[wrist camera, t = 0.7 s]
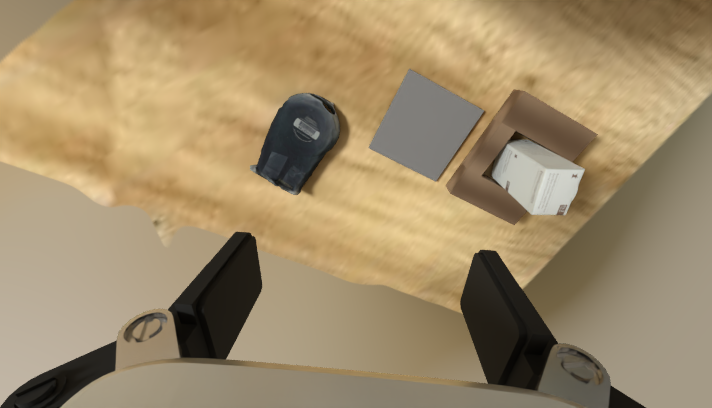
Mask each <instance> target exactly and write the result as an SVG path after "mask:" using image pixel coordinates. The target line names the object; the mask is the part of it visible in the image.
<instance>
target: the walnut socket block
mask: <svg viewBox="0 0 712 408" xmlns="http://www.w3.org/2000/svg"><path fill="white" fill-rule="evenodd" d="M515 131H516V132H518V133H520V134H521V135H523V136H525V137H527V138H529V139H530V140H532V141H534V142H536V143H537V144H539V145H541V146H543V147H545V148H546V149H547V150H549V151H551V152H553V153H555V154H557V155H559V156H561V157H563V158H565V159H567V160H569V161H570V162H573V161H574V160H575V159H576V158H577V156H578V155H579V154H580V153H581V152H582V151H583V150H584V149H585V148H586V147H587V146H588V144H589V143H590V142H591V141H592V140H593V139H594V138H595V137H596V136H597V135H598V134H596V133H594V132H593V131H591V130H589V129H588V128H586V127H584V126H583V125H581V124H579V123H578V122H576V121H574V120H572V119H571V118H569V117H567V116H566V115H564V114H562V113H561V112H559V111H557V110H555V109H554V108H552V107H550V106H549V105H547V104H545V103H544V102H542V101H540V100H539V99H537V98H535V97H533V96H532V95H530V94H528V93H527V92H525V91H520V90H513V92H512V93H511V94H510V96H509V97H508V99H507V100H506V102H505V103H504V104H503V106H502V107H501V109H500V110H499V111H498V113H497V114H496V116H495V117H494V118H493V120H492V121H491V123H490V124H489V125H488V127H487V128H486V130H485V131H484V132H483V134H482V135H481V137H480V138H479V139H478V141H477V142H476V144H475V145H474V147H473V148H472V149H471V151H470V152H469V154H468V155H467V156H466V158H465V159H464V161H463V162H462V163H461V165H460V166H459V168H458V169H457V170H456V172H455V173H454V175H453V176H452V177H451V179H450V180H449V182H448V183H447V184H446V187H447V189H448V190H449V192H450V194H452V195H454V196H456V197H458V198H460V199H463V200H465V201H467V202H469V203H471V204H473V205H475V206H477V207H479V208H481V209H483V210H485V211H487V212H489V213H491V214H493V215H495V216H497V217H499V218H501V219H503V220H505V221H507V222H509V223H511V224H513V225H515V224H516V223H517V222H518V221H519V219H520V218H521V217H522V216H523V215H524V214H525V213H526V212H527V210H526V209H525V208H524V207H523V206H522V205H521V204H520V203H519V202H518V201H517V200H516V199H515V198H514V197H512V196H511V195H510V194H509V193H508V192H507V191H506V190H505V189H504V188H503V187H502V186H501V185H500V184H499V183H498V182H497V181H496V180H494V179H492V178H490V177H488V176H486V175H484V174H483V173H484V172H485V170H486V169H487V168H488V166H489V165H490V164H491V162H492V161H493V160H494V159H495V157H496V156H497V155H498V153H499V152H500V151H501V149H502V148H503V147H504V146H505V144H506V143H507V142H508V140H509V139H510V138H511V136H512V135H513V134H514V132H515Z"/></svg>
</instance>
